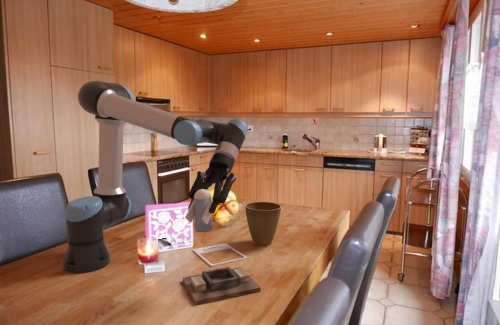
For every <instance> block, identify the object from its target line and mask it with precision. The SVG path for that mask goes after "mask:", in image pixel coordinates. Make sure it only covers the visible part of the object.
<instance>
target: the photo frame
mask: <svg viewBox="0 0 500 325" xmlns="http://www.w3.org/2000/svg"><path fill="white" fill-rule="evenodd" d="M229 249H230V250H232V251H233V252H235V253H236V254H238V255H239V256H241V257H240V258H235V259H231V260H228V261H222V262H217V263H211V262H210V261H209V260H208V259H207V258H205V257H204V256H203V255H205V254H211V253H215V252H220V251H225V250H229ZM192 252H193V253H195V254H196V255H197V256H198V257H199V258H200V259H201V260H203V261H204V262H205V263H206V264H207V265H208V266H209V267H211V268H213V267H217V266H222V265H226V264H230V263H235V262H240V261H244V260H248V259H249V258H248V256H246V255H244V254H243V253H241V252H240V251H238V250H237V249H235V248H234V247H232V246H231V245H229V244H228V243H226V242H225V243H220V244H214V245H208V246H202V247H198V248H193V249H192Z"/></svg>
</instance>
